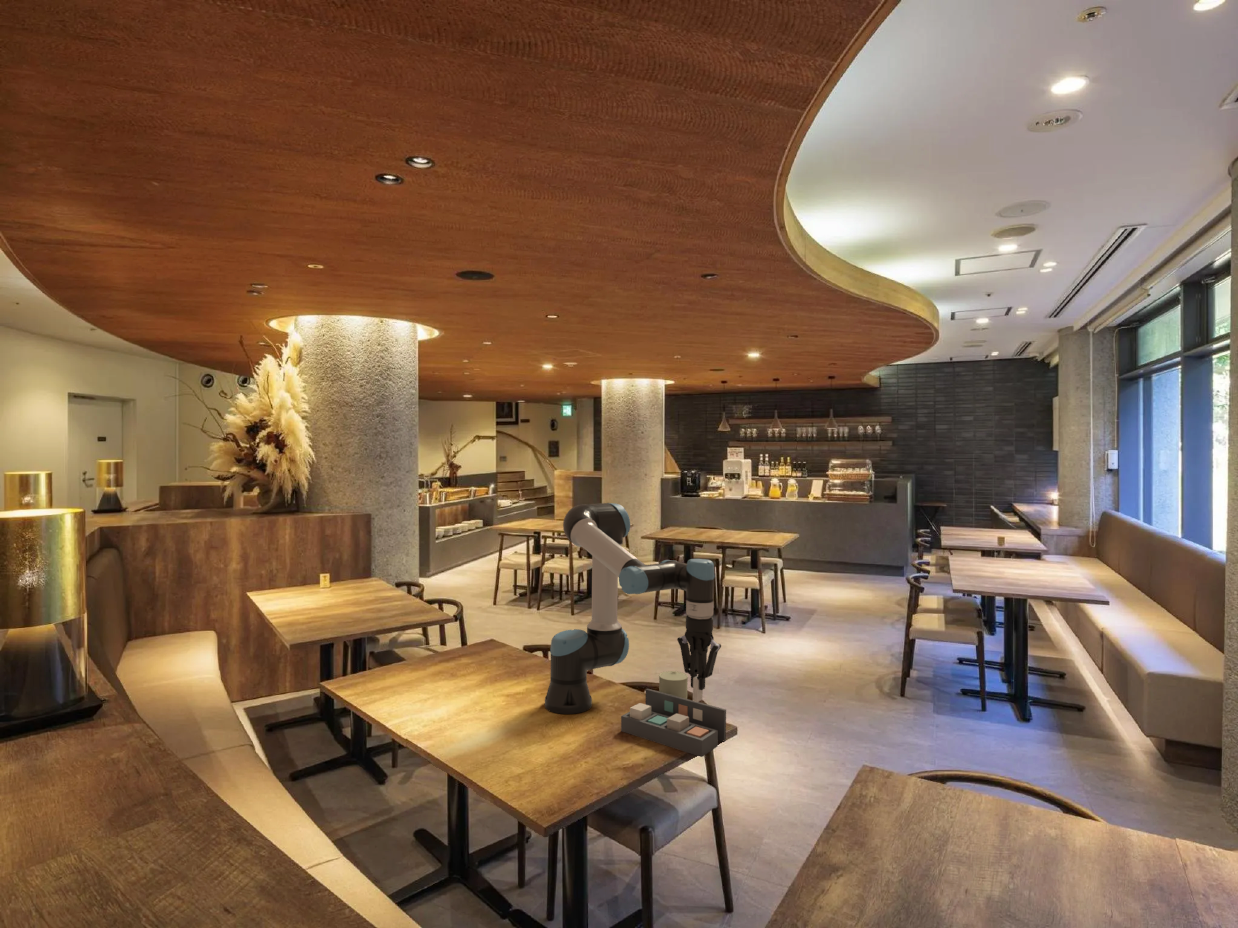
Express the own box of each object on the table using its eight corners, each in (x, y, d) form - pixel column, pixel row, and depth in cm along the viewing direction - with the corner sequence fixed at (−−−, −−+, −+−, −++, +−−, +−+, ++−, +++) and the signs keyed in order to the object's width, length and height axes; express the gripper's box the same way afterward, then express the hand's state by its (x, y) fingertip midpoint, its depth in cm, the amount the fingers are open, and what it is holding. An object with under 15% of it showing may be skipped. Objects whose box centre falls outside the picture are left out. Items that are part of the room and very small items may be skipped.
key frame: (621, 730, 201) (621, 715, 201) (638, 721, 207) (638, 707, 207) (701, 756, 184) (702, 740, 184) (717, 746, 191) (717, 730, 191)
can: (687, 707, 220) (688, 670, 220) (687, 718, 211) (688, 679, 211) (658, 705, 221) (659, 668, 221) (657, 716, 212) (658, 678, 212)
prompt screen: (644, 718, 210) (645, 689, 210) (647, 717, 211) (647, 688, 211) (723, 742, 194) (724, 710, 193) (725, 740, 195) (726, 709, 194)
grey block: (666, 732, 193) (667, 718, 193) (676, 726, 197) (676, 713, 197) (679, 736, 190) (679, 722, 190) (688, 730, 194) (689, 716, 194)
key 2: (647, 734, 197) (648, 720, 197) (657, 728, 201) (657, 715, 201) (659, 737, 194) (660, 723, 194) (669, 732, 198) (669, 718, 198)
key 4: (686, 746, 189) (686, 731, 189) (695, 740, 193) (695, 726, 193) (699, 750, 187) (699, 735, 186) (708, 744, 191) (708, 730, 190)
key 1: (629, 721, 201) (629, 707, 201) (639, 716, 205) (639, 702, 205) (641, 724, 198) (641, 710, 198) (651, 719, 202) (651, 706, 202)
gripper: (672, 614, 190) (670, 698, 191) (713, 622, 182) (711, 709, 183) (686, 609, 196) (684, 690, 197) (727, 617, 188) (724, 701, 189)
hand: (697, 699), depth 190 cm, fingers closed
